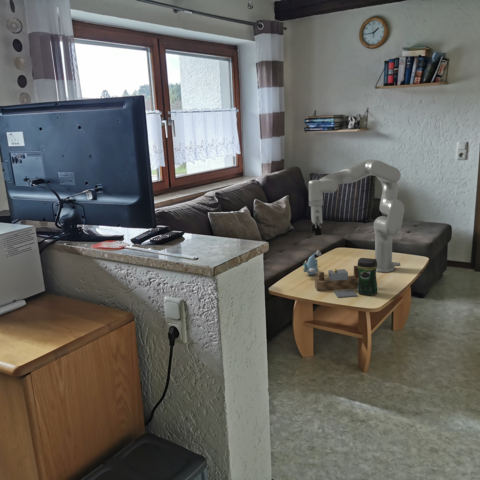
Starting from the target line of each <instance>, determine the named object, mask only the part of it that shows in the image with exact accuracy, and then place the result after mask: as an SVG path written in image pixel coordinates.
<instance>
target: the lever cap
mask: <svg viewBox="0 0 480 480" xmlns="http://www.w3.org/2000/svg"><path fill="white" fill-rule="evenodd" d="M348 276H349V272H348V271H347V270H346V268H343V269H337V268H334V269H331V270H330V269H329V270H328V277H329V279H330V280H331V281H337V280H348Z"/></svg>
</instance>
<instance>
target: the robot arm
mask: <svg viewBox="0 0 480 480" xmlns="http://www.w3.org/2000/svg"><path fill="white" fill-rule="evenodd" d="M369 176H375V177H376V178H377V180H378V181H379V182H380V185H381V187H382V190H381V191H382V193H381V198H380V200H379V211H380V212H381V214H384V215H387V216H384V215H382V216H381V215H380V216H378V217H377V218H376V219H375V220H374V221H373V231H374V242H375V243H374V257H375V258H374V259H376V260H377V269H376V273H377V272H378V273H391V272H394V271H395V267H401V262H398V261H394V262H393V237H395V236H397V235H398V234H399V233H400V231H401V228H402V226H403V219H404V215H405V205H404V203H403V202H402V201H401V200H399V199H398V194H399V193H398V192H399V185H398V182H399V181H400V180H401V171H400V169H398V167H395V166H393V165H390V164H387V163H386V162H383V161H381V160H378V159H366V160H363V161H362V162H361V161H360V162H358V163H357V164H355V165H351V166H350V167H347V168H345V169H342V170H338V171H335V172H332V173H329V174H327V175H325V176H322V177H321V178H320V179H312V180H309V182H308V206H309V207H310V215H311V217H310V219H311V230H312V232H313V233H314V236H321V235H322V227H321V225H322V224H323V210H322V209H323V208H322V206H323V205H324V201H323V200H324V198H323V197H324V195H323V193H325V194H326V193H327V194H333V193H335V192H337V190H338V188H339V185H343V184H345V185H346V184H352V183H355V182H358V181H360V180H362V179H364V178H366V177H369Z"/></svg>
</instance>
